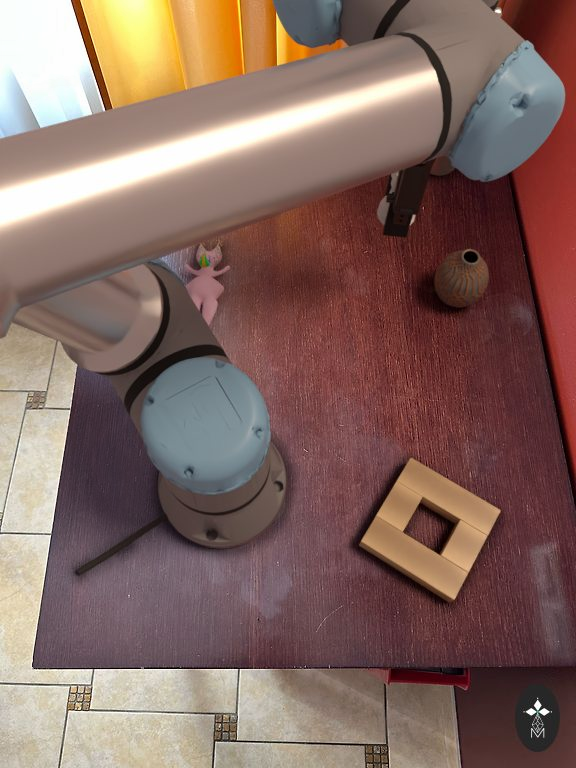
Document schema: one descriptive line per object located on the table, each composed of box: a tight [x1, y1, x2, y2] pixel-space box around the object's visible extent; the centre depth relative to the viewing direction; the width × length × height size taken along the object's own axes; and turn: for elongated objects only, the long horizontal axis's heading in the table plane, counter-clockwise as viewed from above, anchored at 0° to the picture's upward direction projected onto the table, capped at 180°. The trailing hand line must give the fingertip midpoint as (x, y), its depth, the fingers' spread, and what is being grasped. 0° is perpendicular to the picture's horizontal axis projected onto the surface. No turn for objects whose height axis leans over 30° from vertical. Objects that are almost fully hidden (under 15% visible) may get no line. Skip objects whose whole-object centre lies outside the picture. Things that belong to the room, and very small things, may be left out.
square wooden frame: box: [358, 457, 502, 603], centre depth 80 cm, size 12×12×2 cm
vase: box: [433, 248, 490, 309], centre depth 90 cm, size 7×7×9 cm
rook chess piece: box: [376, 171, 416, 226], centre depth 76 cm, size 4×4×8 cm
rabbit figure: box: [184, 238, 231, 327], centre depth 92 cm, size 6×6×15 cm
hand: (395, 215), depth 80 cm, fingers closed on rook chess piece, 4 cm apart
